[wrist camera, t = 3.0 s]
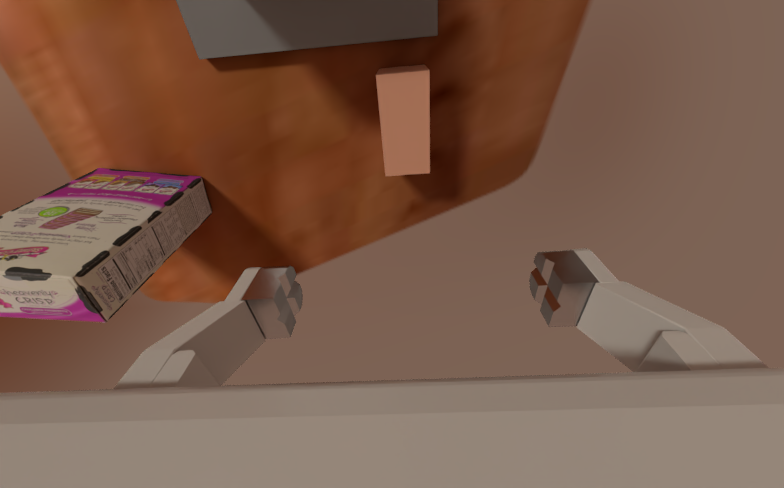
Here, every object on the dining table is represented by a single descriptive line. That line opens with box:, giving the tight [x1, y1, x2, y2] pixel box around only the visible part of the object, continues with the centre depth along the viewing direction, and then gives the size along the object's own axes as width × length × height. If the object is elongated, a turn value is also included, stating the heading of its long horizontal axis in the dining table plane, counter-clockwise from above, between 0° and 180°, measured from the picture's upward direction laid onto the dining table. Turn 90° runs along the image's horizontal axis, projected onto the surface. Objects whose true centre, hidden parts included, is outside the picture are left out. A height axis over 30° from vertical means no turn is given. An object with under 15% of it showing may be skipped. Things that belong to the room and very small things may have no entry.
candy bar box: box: [0, 168, 212, 323], centre depth 27 cm, size 11×5×16 cm, turn 85°
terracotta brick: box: [376, 64, 430, 176], centre depth 26 cm, size 4×8×5 cm, turn 4°
